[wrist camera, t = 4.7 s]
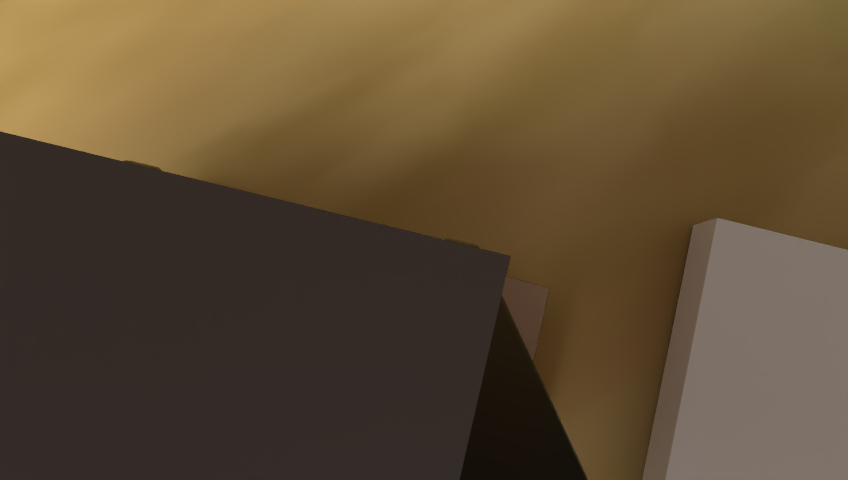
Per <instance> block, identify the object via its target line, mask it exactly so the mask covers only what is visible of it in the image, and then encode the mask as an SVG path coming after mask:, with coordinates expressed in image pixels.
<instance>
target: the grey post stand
mask: <svg viewBox="0 0 848 480" xmlns="http://www.w3.org/2000/svg"><path fill="white" fill-rule="evenodd" d="M509 261H510V256H508V255H504V254H500V253H496V252H492V251H487V250H483V249H479V248H475V247H471V246H467V245H463V244H459V243H455V242H451V241H446V240H442V239H438V238H434V237H430V236H426V235H422V234H418V233H414V232H410V231H405V230H401V229H397V228H393V227H389V226H385V225H381V224H377V223H373V222H369V221H364V220H360V219H356V218H352V217H348V216H344V215H340V214H336V213H332V212H328V211H324V210H319V209H315V208H311V207H307V206H303V205H299V204H295V203H291V202H287V201H283V200H278V199H274V198H270V197H266V196H262V195H258V194H254V193H250V192H246V191H242V190H237V189H233V188H229V187H225V186H221V185H217V184H213V183H209V182H205V181H201V180H196V179H192V178H188V177H184V176H180V175H176V174H172V173H168V172H164V171H160V170H155V169H151V168H147V167H143V166H139V165H135V164H131V163H127V162H123V161H119V160H115V159H110V158H106V157H102V156H98V155H94V154H90V153H86V152H82V151H78V150H74V149H69V148H65V147H61V146H57V145H53V144H49V143H45V142H41V141H37V140H33V139H28V138H24V137H20V136H16V135H12V134H8V133H4V132H0V480H460V476H461V471H462V467H463V462H464V458H465V454H466V449H467V445H468V441H469V436H470V432H471V427H472V423H473V419H474V414H475V410H476V405H477V401H478V397H479V392H480V388H481V384H482V379H483V375H484V370H485V366H486V362H487V357H488V353H489V348H490V344H491V340H492V335H493V331H494V327H495V322H496V318H497V313H498V309H499V305H500V300H501V296H503V298H504V300H505V302H506V305H507V307H508V309H509V311H510V313H511V315H512V317H513V320H514V322H515V324H516V326H517V328H518V330H519V332H520V335H521V337H522V339H523V341H524V343H525V345H526V347H527V350H528V352H529V354H530V356H531V358H532V360H533V361H534V357H535V352H536V348H537V343H538V339H539V334H540V330H541V325H542V321H543V316H544V312H545V307H546V302H547V298H548V293H549V289H550V288H548V287H544V286H540V285H536V284H532V283H528V282H524V281H520V280H515V279H511V278H507V277H506V274H507V270H508V265H509Z"/></svg>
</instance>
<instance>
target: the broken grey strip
mask: <svg viewBox="0 0 848 480" xmlns="http://www.w3.org/2000/svg"><path fill="white" fill-rule="evenodd" d="M642 480H848V250H847V249H842V248H838V247H834V246H830V245H826V244H822V243H818V242H814V241H810V240H806V239H802V238H798V237H794V236H790V235H786V234H782V233H778V232H773V231H769V230H765V229H761V228H757V227H753V226H749V225H745V224H741V223H737V222H733V221H729V220H725V219H721V218H715V219H711V220H708V221H705V222H702V223H698V224H695V225H693V229H692V234H691V239H690V244H689V249H688V254H687V259H686V264H685V269H684V274H683V279H682V284H681V289H680V294H679V299H678V303H677V308H676V313H675V318H674V323H673V328H672V333H671V338H670V343H669V348H668V353H667V358H666V363H665V368H664V373H663V378H662V383H661V388H660V393H659V398H658V403H657V408H656V413H655V418H654V423H653V428H652V433H651V438H650V443H649V447H648V452H647V457H646V462H645V467H644V472H643V477H642Z"/></svg>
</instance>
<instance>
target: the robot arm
mask: <svg viewBox="0 0 848 480" xmlns="http://www.w3.org/2000/svg"><path fill="white" fill-rule="evenodd" d="M123 162H127V163H131V164H135V165H139V166H143V167H147V168H151V169H155V170H160V171H162V170H161V169H160V168H158V167H154V166H150V165H146V164H142V163H138V162H134V161H128V160H126V161H123ZM444 240H446V241H451V242H455V243H459V244H463V245H467V246H471V247H475V248H479V247H478V246H476V245H474V244H470V243H465V242H461V241H457V240H453V239H448V238H446V239H444ZM479 249H480V248H479ZM460 480H588V478H587V476H586V474H585V472H584V470H583V468H582V466H581V463H580V461H579V459H578V457H577V455H576V453H575V450H574V448H573V446H572V444H571V442H570V440H569V438H568V435H567V433H566V431H565V429H564V427H563V425H562V423H561V420H560V418H559V416H558V414H557V412H556V410H555V408H554V405H553V403H552V401H551V399H550V397H549V395H548V393H547V390H546V388H545V386H544V384H543V382H542V380H541V377H540V375H539V373H538V371H537V369H536V367H535V365H534V362H533V360H532V358H531V356H530V354H529V352H528V350H527V347H526V345H525V343H524V341H523V339H522V337H521V335H520V332H519V330H518V328H517V326H516V324H515V322H514V320H513V317H512V315H511V313H510V311H509V309H508V307H507V305H506V302H505V300H504V298H503V296H501V300H500V305H499V309H498V313H497V318H496V322H495V327H494V331H493V335H492V340H491V344H490V348H489V353H488V357H487V362H486V366H485V370H484V375H483V379H482V384H481V388H480V392H479V397H478V401H477V405H476V410H475V414H474V419H473V423H472V427H471V432H470V436H469V441H468V445H467V449H466V454H465V458H464V462H463V467H462V471H461V476H460Z"/></svg>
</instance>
